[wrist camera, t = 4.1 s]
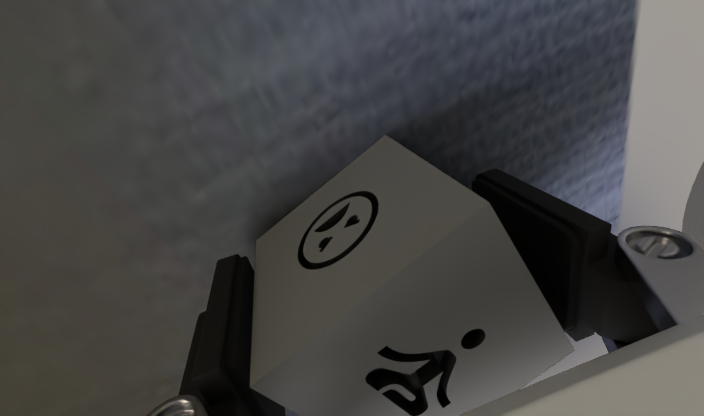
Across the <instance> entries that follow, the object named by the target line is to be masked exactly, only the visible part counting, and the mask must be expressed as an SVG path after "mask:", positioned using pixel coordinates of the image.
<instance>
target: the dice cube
mask: <svg viewBox="0 0 704 416" xmlns="http://www.w3.org/2000/svg"><path fill="white" fill-rule="evenodd" d="M573 351H574V348H573V346H572V344H571V343H570V341H569V339H568V337H567V336H566V334H565V332H564V331H563V329H562V327H561V325H560V324H559V322H558V320H557V318H556V317H555V315H554V313H553V312H552V310H551V308H550V306H549V305H548V303H547V301H546V299H545V298H544V296H543V294H542V293H541V291H540V289H539V287H538V286H537V284H536V282H535V281H534V279H533V277H532V275H531V274H530V272H529V270H528V268H527V267H526V265H525V263H524V262H523V260H522V258H521V256H520V255H519V253H518V251H517V249H516V248H515V246H514V244H513V243H512V241H511V239H510V237H509V236H508V234H507V232H506V230H505V229H504V227H503V225H502V224H501V222H500V220H499V218H498V217H497V215H496V213H495V211H494V210H493V208H492V206H491V205H490V203H489V202H488V201H486V200H485V199H483V198H482V197H480V196H479V195H477V194H476V193H474V192H473V191H471V190H470V189H468V188H466V187H465V186H463V185H462V184H460V183H459V182H457V181H456V180H454V179H453V178H451V177H450V176H448V175H447V174H445V173H443V172H442V171H440V170H439V169H437V168H436V167H434V166H433V165H431V164H430V163H428V162H427V161H425V160H424V159H422V158H420V157H419V156H417V155H416V154H414V153H413V152H411V151H410V150H408V149H407V148H405V147H404V146H402V145H401V144H399V143H397V142H396V141H394V140H393V139H391V138H390V137H388V136H387V135H384V136H383V137H382V138H381V139H379V140H378V141H377V142H376V143H375V144H373V145H372V146H371V147H370V148H368V149H367V150H366V151H365V152H364V153H362V154H361V155H360V156H359V157H357V158H356V159H355V160H354V161H353V162H351V163H350V164H349V165H348V166H346V167H345V168H344V169H343V170H342V171H340V172H339V173H338V174H337V175H335V176H334V177H333V178H332V179H331V180H329V181H328V182H327V183H326V184H324V185H323V186H322V187H321V188H320V189H318V190H317V191H316V192H315V193H313V194H312V195H311V196H310V197H309V198H307V199H306V200H305V201H304V202H302V203H301V204H300V205H299V206H298V207H296V208H295V209H294V210H293V211H292V212H290V213H289V214H288V215H287V216H285V217H284V218H283V219H282V220H281V221H279V222H278V223H277V224H276V225H274V226H273V227H272V228H271V229H270V230H268V231H267V232H266V233H265V234H263V235H262V236H261V237H260V238H259V239H257V240H256V251H255V274H254V297H253V320H252V343H251V366H250V388H252V389H253V390H255V391H257V392H259V393H260V394H262V395H264V396H266V397H268V398H269V399H271V400H273V401H275V402H276V403H278V404H280V405H282V406H284V407H285V408H287V409H289V410H291V411H292V412H294V413H296V414H298V415H299V416H458V415H461V414H463V413H466V412H468V411H470V410H473V409H475V408H478V407H480V406H482V405H485V404H487V403H489V402H492V401H494V400H497V399H499V398H501V397H504V396H506V395H509V394H511V393H513V392H516V391H518V390H520V389H521V388H522V387H524V386H525V385H527V384H528V383H529V382H531V381H532V380H534V379H535V378H536V377H538V376H539V375H541V374H542V373H544V372H545V371H546V370H548V369H549V368H551V367H552V366H554V365H555V364H556V363H557V362H559V361H561V360H562V359H563V358H565V357H566V356H568V355H569V354H570V353H572V352H573Z"/></svg>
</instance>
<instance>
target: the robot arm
mask: <svg viewBox="0 0 704 416" xmlns="http://www.w3.org/2000/svg"><path fill="white" fill-rule="evenodd" d="M472 191H473V192H474V193H476V194H477V195H479V196H480V197H482V198H483V199H485V200H486V201H488V202H489V203H490V205H491V206H492V208H493V210H494V211H495V213H496V215H497V217H498V218H499V220H500V222H501V224H502V225H503V227H504V229H505V230H506V232H507V234H508V236H509V237H510V239H511V241H512V243H513V244H514V246H515V248H516V249H517V251H518V253H519V255H520V256H521V258H522V260H523V262H524V263H525V265H526V267H527V268H528V270H529V272H530V274H531V275H532V277H533V279H534V281H535V282H536V284H537V286H538V287H539V289H540V291H541V293H542V294H543V296H544V298H545V299H546V301H547V303H548V305H549V306H550V308H551V310H552V312H553V313H554V315H555V317H556V318H557V320H558V322H559V324H560V325H561V327H562V329H563V331H564V332H566V333H567V334H568V335H569V336H571V337H572V338H573V339H574V340H575V341H579V340H581V339H584V338H586V337H589V336H591V335H593V334H594V331H595V332H596V333H597V334H598V335H600V336H602V339H603V341H604V343H605V346H606V348H607V350H608V352H609V353H608V354H605V355H603V356H600V357H598V358H596V359H593V360H591V361H588V362H586V363H583V364H581V365H579V366H576V367H574V368H571V369H569V370H567V371H564V372H562V373H559V374H557V375H554V376H552V377H549V378H547V379H545V380H542V381H540V382H538V383H535V384H533V385H530V386H528V387H526V388H523V389H521V390H518V391H516V392H513V393H511V394H509V395H506V396H504V397H501V398H499V399H497V400H494V401H492V402H489V403H487V404H485V405H482V406H480V407H478V408H475V409H473V410H470V411H468V412H466V413H463V414H461V415H458V416H704V246H703V245H702V244H701V243H700V242H699V241H697V240H696V239H694V238H693V237H691V236H689V235H687V234H685V233H682V232H680V231H677V230H673V229H670V228H665V227H658V226H636V227H631V228H628V229H625V230H623V231H622V232H621V233H619V234H618V237H617V236H615V235H613V234H611V233H610V231H611V225H612V224H610V223H607V222H605V221H603V220H601V219H599V218H597V217H595V216H593V215H591V214H589V213H587V212H585V211H583V210H581V209H579V208H577V207H575V206H572V205H570V204H568V203H566V202H564V201H562V200H560V199H558V198H556V197H554V196H552V195H550V194H548V193H546V192H544V191H542V190H540V189H537V188H535V187H533V186H531V185H529V184H527V183H525V182H523V181H521V180H519V179H517V178H515V177H513V176H511V175H509V174H507V173H505V172H503V171H500V170H498V169H492V170H489V171H486V172H483V173H480V174H478V175H477V176H476V180H474V181H473V182H472ZM254 274H255V272H254V270H253V268H252V266H251V264H250V262H249V260H248V258H247V257H246V256H245V257H242V258H241V257H240V256H239V255H238V254H236V255H233V256H230V257H227V258H224V259H221V260H218V262H217V265H216V270H215V274H214V278H213V283H212V287H211V292H210V296H209V300H208V305H207V309H206V311H205V312H202V313H201V314H200V315H199V317H198V320H197V324H196V328H195V332H194V336H193V340H192V344H191V348H190V352H189V356H188V360H187V364H186V368H185V372H184V375H183V379H182V383H181V387H180V391H179V395H178V396H176V397H173V398H171V399H168V400H167V401H165V402H163V403H162V404H160V405H159V406H157V407H156V408H155V409H154V410H152V411H151V412H150V413H149V414H148V415H147V416H285V407H284V406H282V405H280V404H278V403H276V402H275V401H273V400H271V399H269V398H268V397H266V396H264V395H262V394H260V393H259V392H257V391H255V390H253V389H252V388H250V366H251V343H252V320H253V297H254Z"/></svg>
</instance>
